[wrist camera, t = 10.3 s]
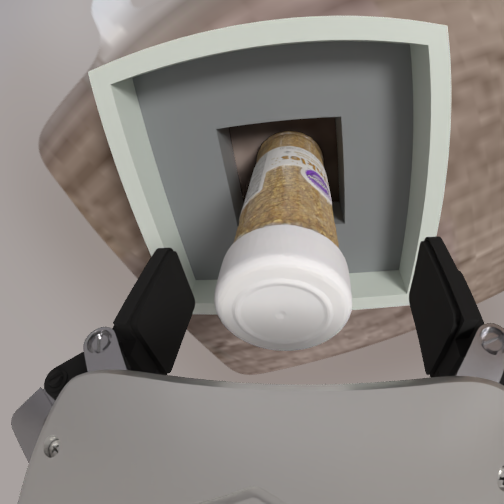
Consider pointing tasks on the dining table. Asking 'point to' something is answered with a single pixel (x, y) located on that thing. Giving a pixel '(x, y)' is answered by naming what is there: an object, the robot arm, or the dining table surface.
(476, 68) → the dining table surface
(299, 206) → the sprinkles bottle
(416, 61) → the open box
